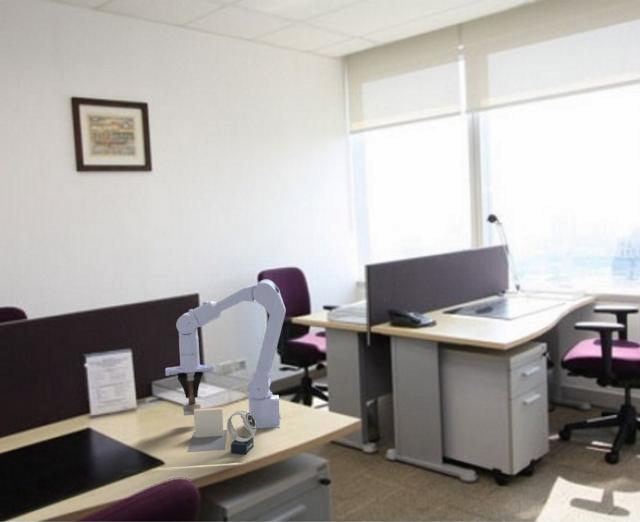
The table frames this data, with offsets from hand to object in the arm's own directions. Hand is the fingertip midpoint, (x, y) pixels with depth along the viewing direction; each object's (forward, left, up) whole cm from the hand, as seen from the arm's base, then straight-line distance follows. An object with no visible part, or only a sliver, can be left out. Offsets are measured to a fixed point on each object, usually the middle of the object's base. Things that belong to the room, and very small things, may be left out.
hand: (191, 396), depth 186 cm
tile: (-6, +10, -9) cm, 14 cm away
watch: (-16, +22, -10) cm, 29 cm away
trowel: (0, 0, -5) cm, 5 cm away
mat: (-6, +13, -9) cm, 17 cm away
